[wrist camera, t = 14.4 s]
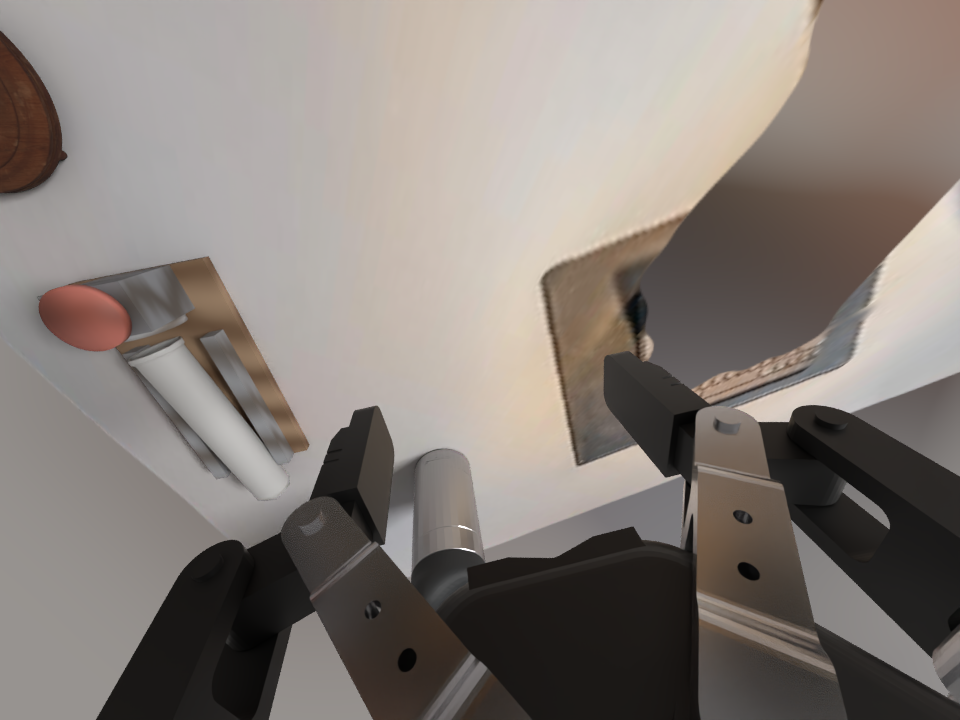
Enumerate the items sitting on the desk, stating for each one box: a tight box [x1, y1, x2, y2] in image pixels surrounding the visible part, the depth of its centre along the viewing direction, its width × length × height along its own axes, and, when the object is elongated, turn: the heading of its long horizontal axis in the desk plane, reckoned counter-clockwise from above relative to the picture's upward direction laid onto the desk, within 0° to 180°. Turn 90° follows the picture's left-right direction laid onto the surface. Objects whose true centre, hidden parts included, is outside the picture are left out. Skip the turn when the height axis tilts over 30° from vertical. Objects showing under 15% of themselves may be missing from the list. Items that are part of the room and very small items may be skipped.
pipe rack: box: [37, 256, 309, 479], centre depth 40 cm, size 28×14×10 cm, turn 10°
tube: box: [128, 336, 290, 501], centre depth 44 cm, size 5×5×25 cm
